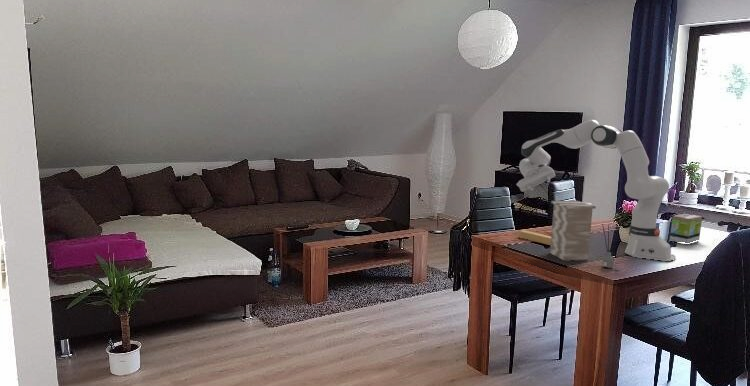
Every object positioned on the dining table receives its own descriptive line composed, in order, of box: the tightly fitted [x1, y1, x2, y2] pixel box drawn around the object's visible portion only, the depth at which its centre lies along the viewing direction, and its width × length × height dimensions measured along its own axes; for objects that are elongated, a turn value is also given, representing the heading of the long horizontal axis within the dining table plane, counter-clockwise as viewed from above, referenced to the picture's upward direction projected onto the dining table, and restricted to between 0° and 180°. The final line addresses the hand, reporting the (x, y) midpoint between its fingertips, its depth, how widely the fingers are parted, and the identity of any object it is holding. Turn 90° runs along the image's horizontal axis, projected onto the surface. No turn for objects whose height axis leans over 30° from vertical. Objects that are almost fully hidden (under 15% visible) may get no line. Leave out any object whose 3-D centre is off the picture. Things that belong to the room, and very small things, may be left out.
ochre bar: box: [518, 229, 551, 246], centre depth 300 cm, size 22×4×4 cm, turn 37°
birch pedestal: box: [549, 200, 597, 262], centre depth 268 cm, size 16×14×26 cm
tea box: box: [669, 213, 703, 243], centre depth 305 cm, size 15×10×15 cm
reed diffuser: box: [601, 223, 621, 271], centre depth 250 cm, size 10×7×20 cm
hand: (540, 185), depth 297 cm, fingers open, 8 cm apart
